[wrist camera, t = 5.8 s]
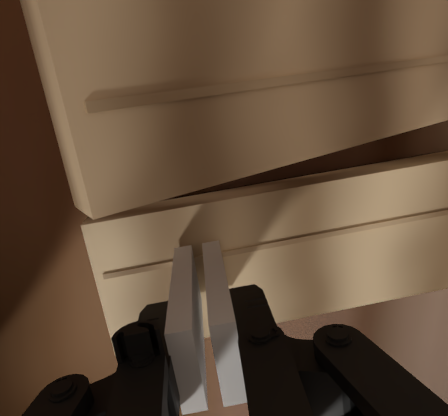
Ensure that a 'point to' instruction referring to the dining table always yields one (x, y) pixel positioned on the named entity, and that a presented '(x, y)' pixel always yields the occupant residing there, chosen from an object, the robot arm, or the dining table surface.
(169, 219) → the plank
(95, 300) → the dining table surface
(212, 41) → the plank
